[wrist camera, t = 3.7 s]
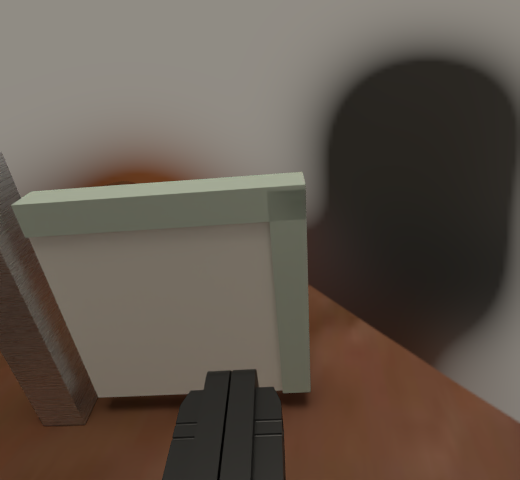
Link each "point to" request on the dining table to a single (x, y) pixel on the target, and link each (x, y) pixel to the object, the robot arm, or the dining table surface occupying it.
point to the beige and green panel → (179, 279)
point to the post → (37, 326)
